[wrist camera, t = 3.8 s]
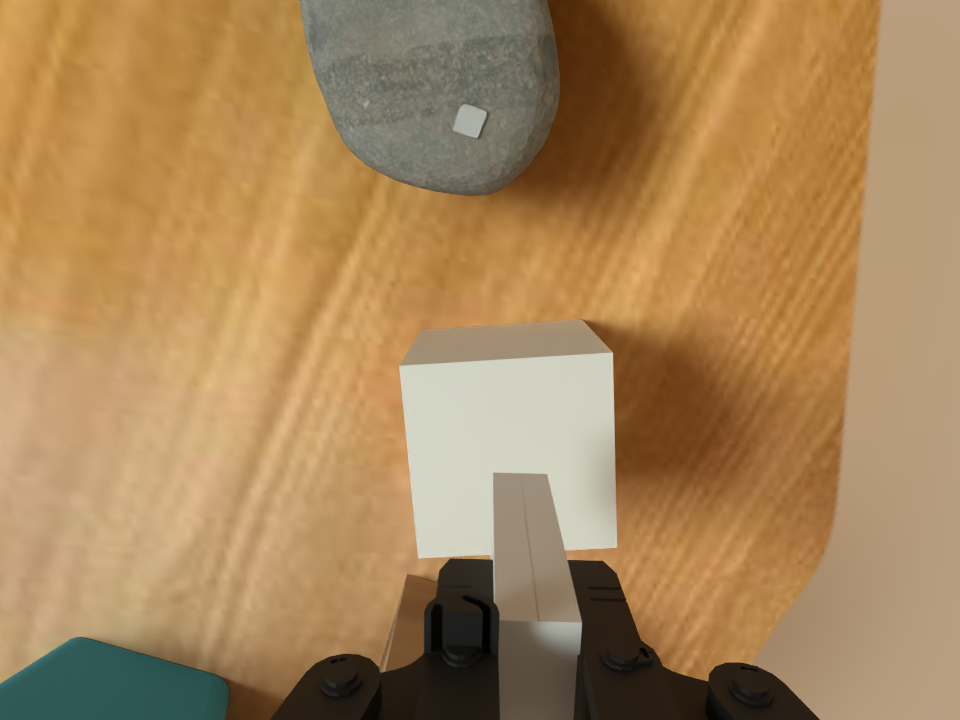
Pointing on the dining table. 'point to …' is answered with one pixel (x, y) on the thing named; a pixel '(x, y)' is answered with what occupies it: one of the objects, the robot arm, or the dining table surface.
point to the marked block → (408, 624)
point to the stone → (438, 86)
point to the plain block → (509, 429)
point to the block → (110, 687)
